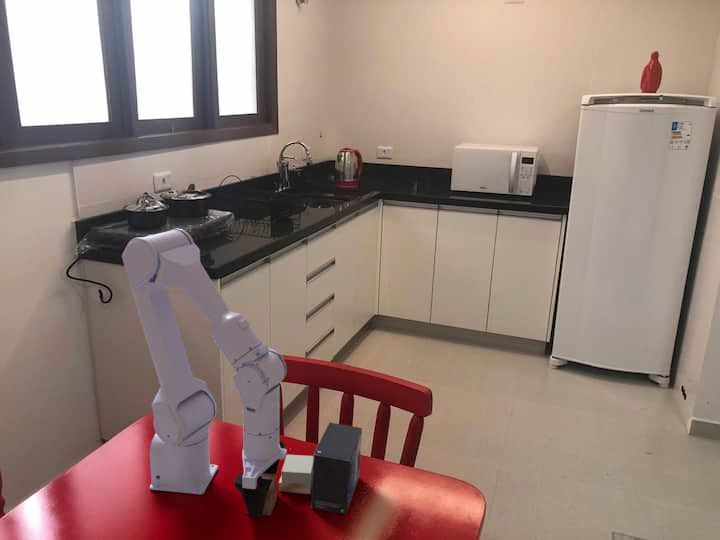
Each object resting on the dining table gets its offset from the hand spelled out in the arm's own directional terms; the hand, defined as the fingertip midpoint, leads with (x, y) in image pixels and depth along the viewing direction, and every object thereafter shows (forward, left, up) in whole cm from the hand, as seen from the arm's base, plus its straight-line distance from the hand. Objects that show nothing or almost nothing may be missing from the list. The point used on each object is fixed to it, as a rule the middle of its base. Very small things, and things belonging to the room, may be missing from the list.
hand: (261, 498), depth 94 cm
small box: (+12, +5, -2) cm, 13 cm away
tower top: (+5, +7, 0) cm, 8 cm away
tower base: (+4, +7, -2) cm, 9 cm away
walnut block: (0, 0, -2) cm, 2 cm away
